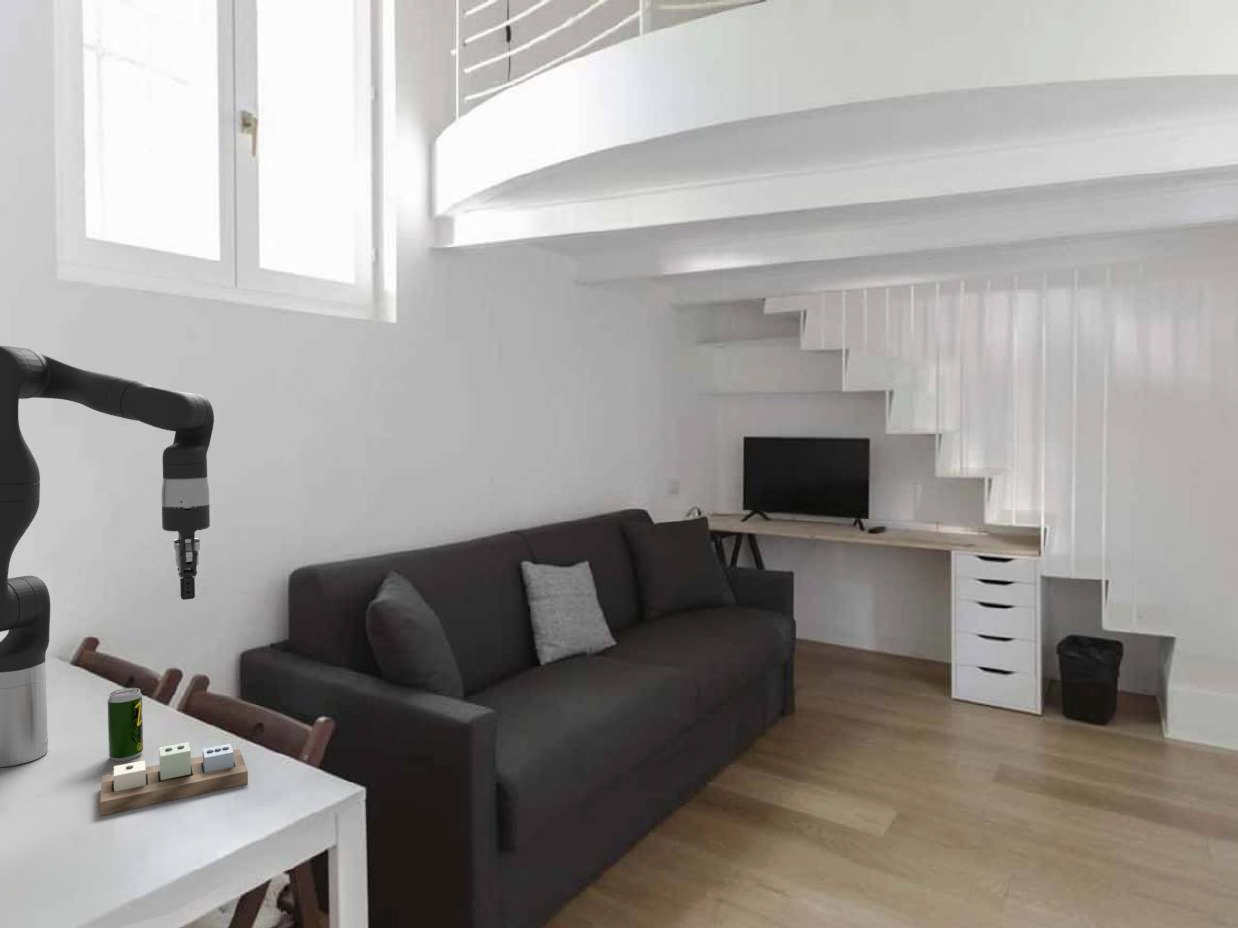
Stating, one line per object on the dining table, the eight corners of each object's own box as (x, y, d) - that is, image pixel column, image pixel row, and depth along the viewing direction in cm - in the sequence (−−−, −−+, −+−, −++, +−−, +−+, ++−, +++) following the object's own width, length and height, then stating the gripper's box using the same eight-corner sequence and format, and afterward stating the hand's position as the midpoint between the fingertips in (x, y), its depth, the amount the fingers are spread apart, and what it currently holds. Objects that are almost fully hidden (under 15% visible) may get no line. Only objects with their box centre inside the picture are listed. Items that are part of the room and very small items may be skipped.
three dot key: (205, 780, 132) (204, 756, 132) (202, 771, 136) (202, 747, 136) (233, 774, 135) (233, 750, 135) (230, 765, 138) (230, 742, 138)
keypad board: (100, 815, 122) (100, 802, 122) (102, 788, 131) (101, 775, 131) (247, 783, 133) (247, 770, 133) (239, 760, 142) (239, 748, 142)
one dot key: (114, 800, 125) (113, 774, 125) (114, 789, 129) (113, 764, 129) (146, 793, 128) (145, 768, 128) (145, 783, 131) (144, 758, 131)
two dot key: (160, 780, 129) (160, 755, 129) (159, 770, 132) (159, 746, 132) (190, 773, 131) (190, 749, 131) (189, 764, 135) (188, 740, 135)
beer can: (109, 764, 140) (107, 699, 140) (108, 754, 145) (107, 690, 144) (143, 757, 143) (142, 693, 143) (142, 747, 148) (141, 685, 147)
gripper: (160, 501, 144) (162, 594, 144) (163, 507, 132) (165, 608, 133) (206, 499, 148) (207, 590, 148) (212, 505, 136) (214, 602, 137)
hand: (187, 598), depth 141 cm, fingers closed
